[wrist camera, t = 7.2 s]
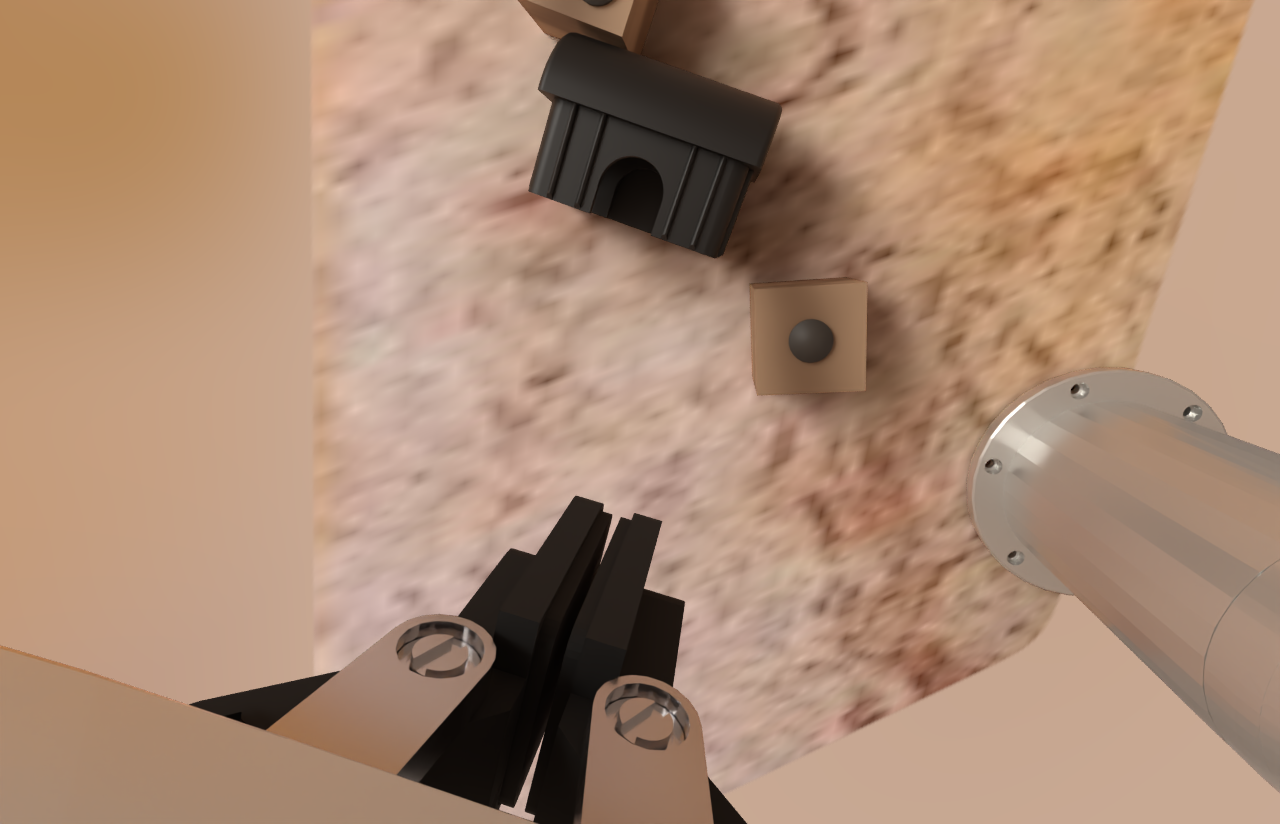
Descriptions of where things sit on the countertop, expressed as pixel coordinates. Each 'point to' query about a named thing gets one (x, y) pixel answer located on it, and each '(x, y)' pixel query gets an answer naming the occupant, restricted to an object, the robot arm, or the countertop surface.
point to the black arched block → (649, 143)
